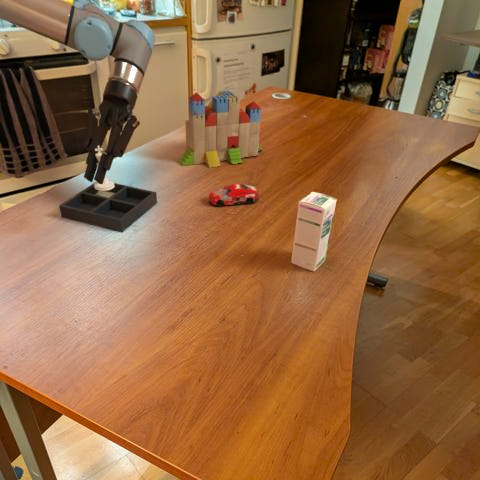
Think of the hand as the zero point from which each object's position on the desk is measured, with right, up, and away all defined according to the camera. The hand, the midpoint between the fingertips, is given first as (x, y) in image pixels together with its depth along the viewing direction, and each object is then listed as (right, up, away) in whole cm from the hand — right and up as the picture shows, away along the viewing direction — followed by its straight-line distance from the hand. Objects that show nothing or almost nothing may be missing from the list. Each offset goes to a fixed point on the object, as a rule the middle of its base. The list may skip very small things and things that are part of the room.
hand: (93, 180), depth 109 cm
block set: (+29, +17, +34) cm, 48 cm away
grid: (+3, -6, +3) cm, 8 cm away
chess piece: (+1, 0, +5) cm, 5 cm away
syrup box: (+49, -21, -10) cm, 54 cm away
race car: (+33, -2, +11) cm, 35 cm away
